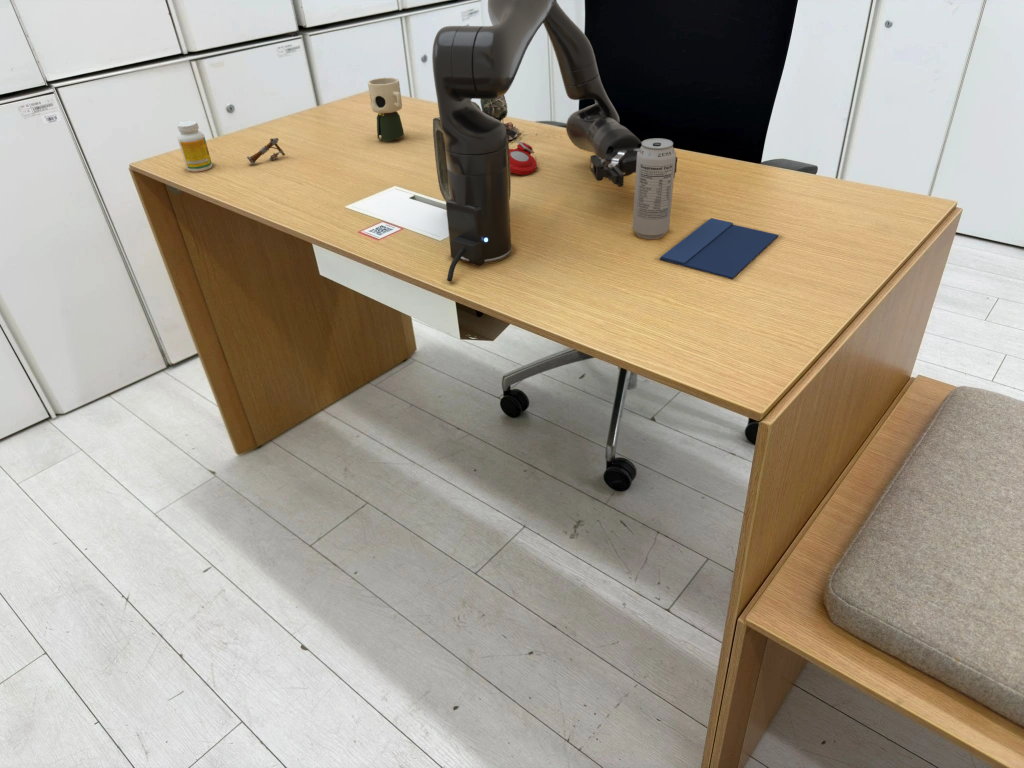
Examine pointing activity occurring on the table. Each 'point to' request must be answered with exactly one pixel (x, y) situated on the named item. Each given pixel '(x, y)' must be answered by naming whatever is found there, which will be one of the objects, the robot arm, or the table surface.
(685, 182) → the table surface
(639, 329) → the table surface
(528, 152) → the tracker holder
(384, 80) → the character mug
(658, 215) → the energy drink can
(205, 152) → the supplement bottle
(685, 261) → the open blue folder
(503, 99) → the plant with pod
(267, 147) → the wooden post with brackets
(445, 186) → the tall jug with handle
